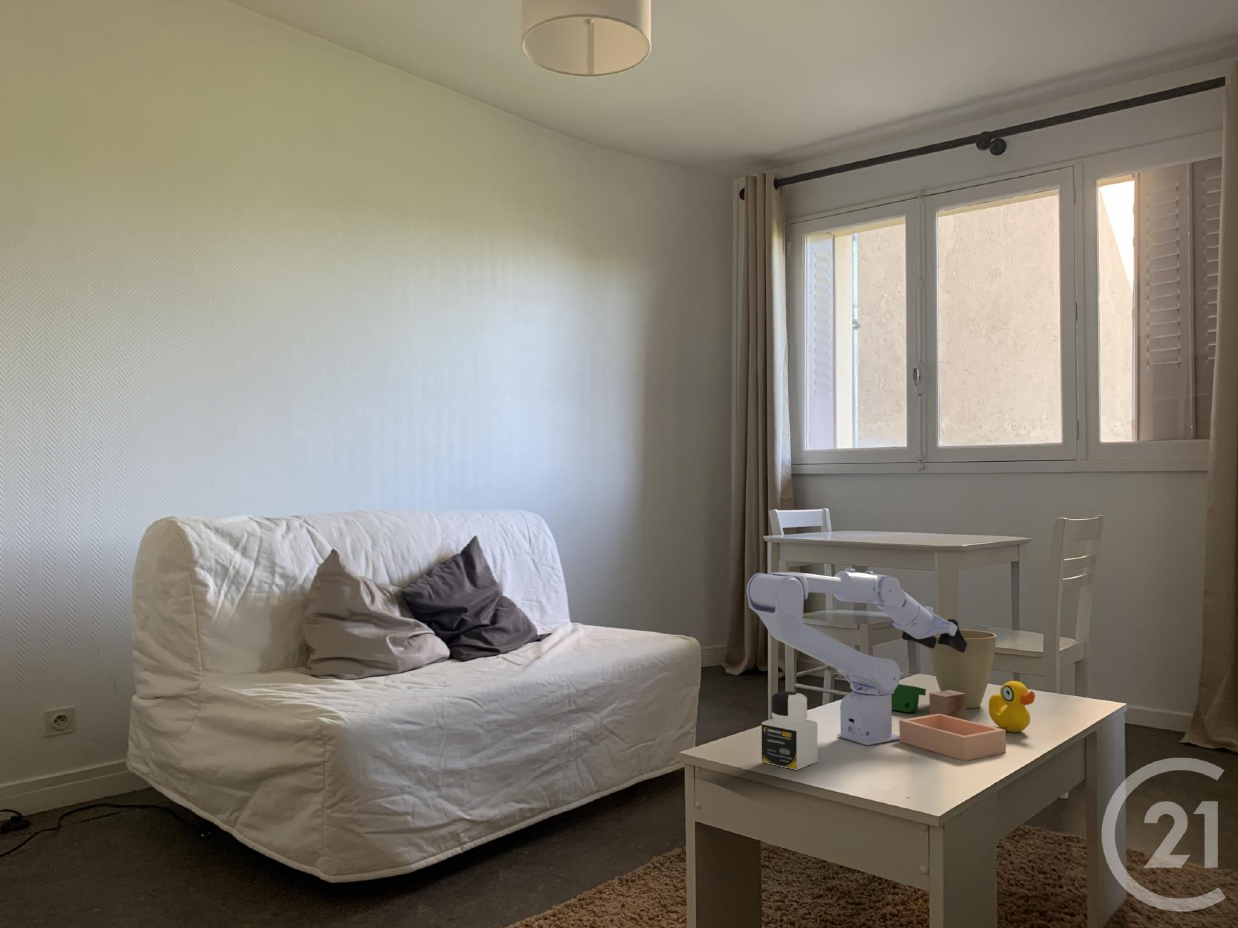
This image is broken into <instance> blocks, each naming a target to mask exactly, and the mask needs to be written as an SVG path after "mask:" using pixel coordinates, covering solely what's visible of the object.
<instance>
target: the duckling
mask: <svg viewBox="0 0 1238 928" xmlns="http://www.w3.org/2000/svg"><path fill="white" fill-rule="evenodd" d="M1035 697H1036V696H1035V691H1032V690H1030V691H1029V690H1028V688H1027V687H1026V685H1025V684H1024V683H1022V682H1021V681H1018V680H1010V681H1008V682H1007V681H1006V683H1004V684H1003V685H1001V686H1000V689H999V693H995V694H992V695H991V696H990V697H989V700H988V715H989V717H990V718H991V720H992V721H993V723H994V724H995V725H997V726H998V727H999V728H1000V729H1004V730H1006V732H1007V731H1008V732H1010V733H1020V732H1022V731H1024V730H1025V729H1026V728H1027V727H1028V726H1029V725H1030V723H1031V715H1030V712H1029V711H1028V709H1027V707H1026V706H1029V705H1032V704H1033V703H1034V701H1035Z"/></svg>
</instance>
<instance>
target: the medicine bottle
mask: <svg viewBox="0 0 1238 928" xmlns="http://www.w3.org/2000/svg"><path fill="white" fill-rule="evenodd" d="M771 717H772V718H771V719H768V720H765V721H762V722H761V763H762V762H764V763H769V764H772V765H771V766H773V765H777V766H783V767H785V768H784V769H786V768H790V769H794V770H797V771H799V770H802V769H804V768H807V767H809V766H808V765H810V766H811V764H812V765H814V763H815V764H817V763H818V760H819V759H818V722H817V721H815V720H814V721H813V720H809V719H807V718H808V697H807V696H806V695H804V694H802V693H800V692H796V691H779V692H777V693H774V694H773V695H772V697H771ZM816 762H817V763H816ZM764 763H763V764H764ZM769 764H768V765H769ZM777 766H776V767H777ZM806 766H807V767H806ZM803 767H804V768H803ZM801 768H802V769H801ZM790 769H789V770H790ZM798 769H799V770H798ZM794 770H793V771H794Z"/></svg>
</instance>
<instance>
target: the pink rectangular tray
mask: <svg viewBox="0 0 1238 928" xmlns="http://www.w3.org/2000/svg"><path fill="white" fill-rule="evenodd" d="M898 724H899V728H898V729H899V731H898V732H899V736H900V739H899V742H901V743H904V744H908V745H910V746H914V747H917V748H920V749H924V750H927V751H931V752H934V753H938V754H941V755H945V756H948V757H952V758H955V759H958V760H962V761H969V760H975V759H980V758H985V757H989V756H994V755H999V754H1004V752H1005V753H1007V742H1006V741H1007V738H1006V737H1007V735H1006V732H1007V730H1004V729H1002V728H1000V727H999V728H998V727H995V726H990V725H988V724H987V725H986V724H983V723H979V722H975V721H970V720H967V719H966V720H963V719H959V718H955V717H951V716H947V715H943V714H933V715H930V714H929V715H923V716H922V715H921V716H917V717H910V718H905V719H900V720H899V723H898Z"/></svg>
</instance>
